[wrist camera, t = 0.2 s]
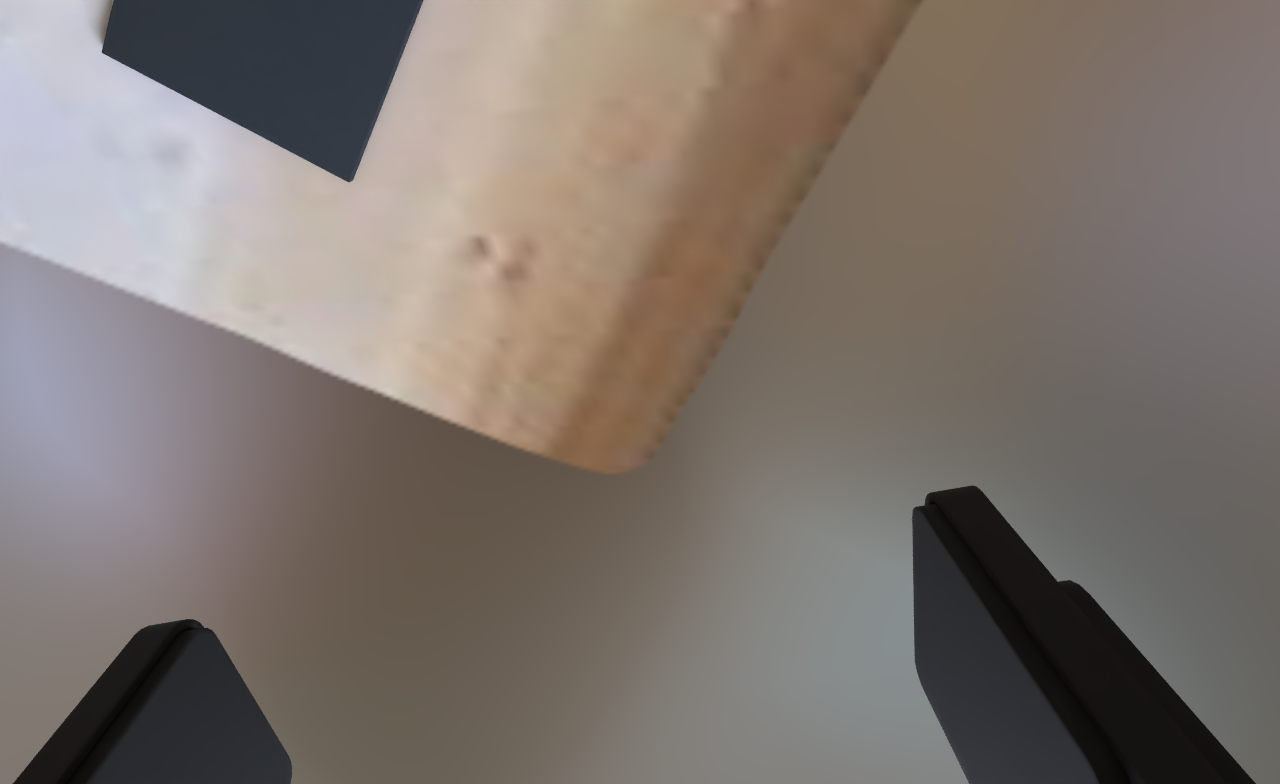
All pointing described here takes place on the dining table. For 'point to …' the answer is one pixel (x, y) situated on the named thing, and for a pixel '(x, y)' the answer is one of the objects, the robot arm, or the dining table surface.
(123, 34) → the mat
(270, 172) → the dining table surface
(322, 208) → the dining table surface
